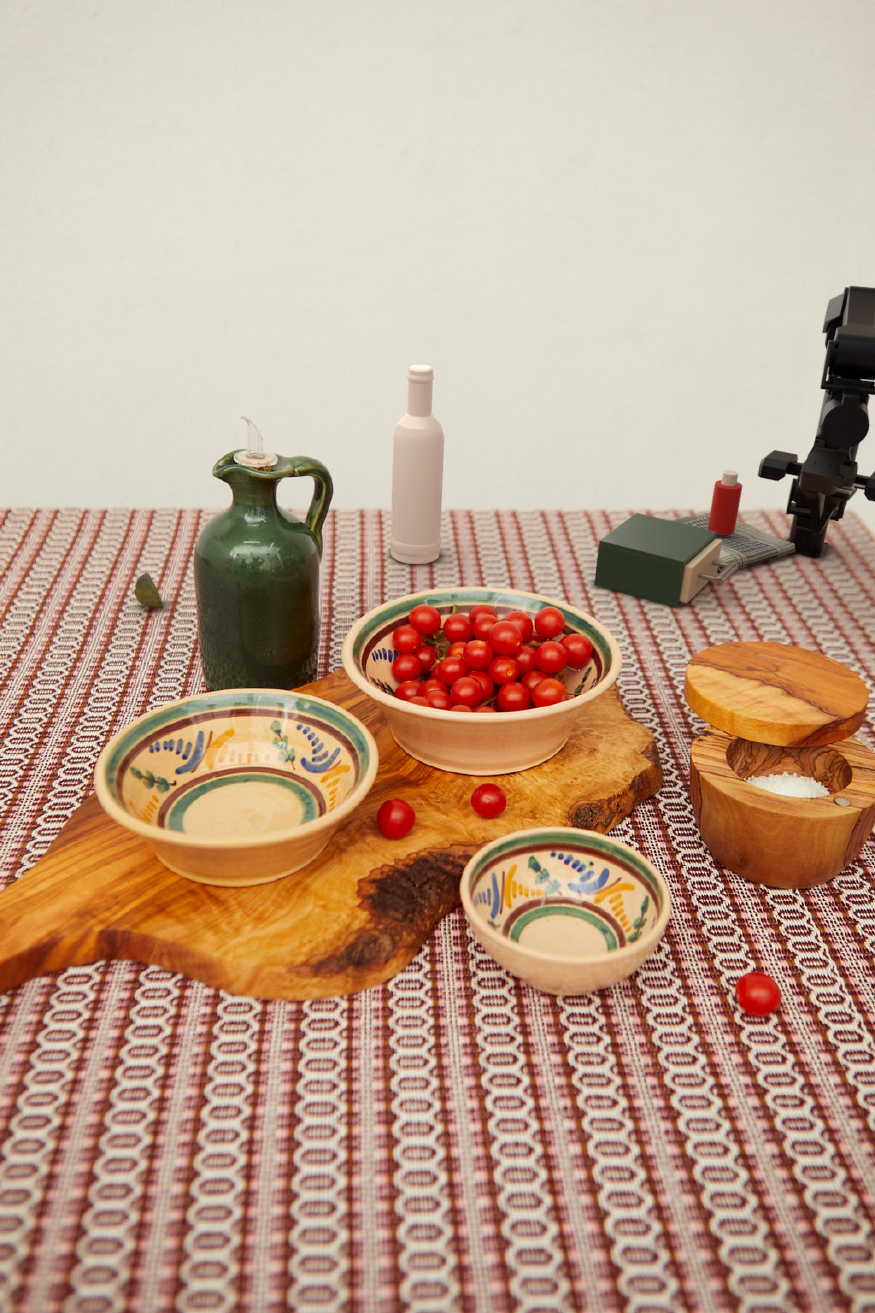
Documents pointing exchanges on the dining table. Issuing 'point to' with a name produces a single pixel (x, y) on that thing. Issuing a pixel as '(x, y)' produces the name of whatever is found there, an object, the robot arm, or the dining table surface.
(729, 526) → the sauce bottle
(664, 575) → the dark green box
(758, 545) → the dish towel
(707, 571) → the drawer
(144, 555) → the dining table surface
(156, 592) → the lime
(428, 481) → the bottle
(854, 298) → the robot arm
